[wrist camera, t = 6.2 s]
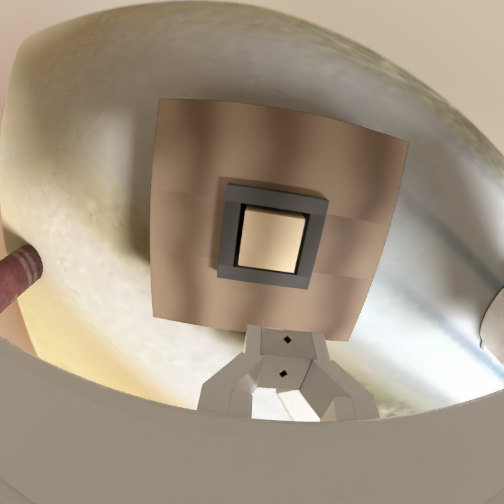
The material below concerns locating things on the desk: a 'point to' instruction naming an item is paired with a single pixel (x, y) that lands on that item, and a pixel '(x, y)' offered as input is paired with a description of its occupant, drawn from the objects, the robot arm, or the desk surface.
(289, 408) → the ink box
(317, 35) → the desk surface
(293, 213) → the peg
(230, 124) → the sleeve block
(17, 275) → the can
